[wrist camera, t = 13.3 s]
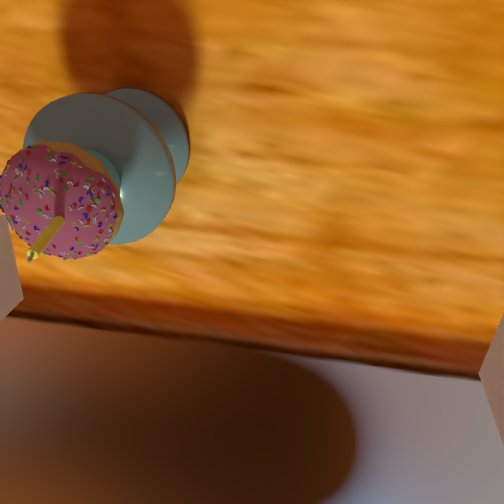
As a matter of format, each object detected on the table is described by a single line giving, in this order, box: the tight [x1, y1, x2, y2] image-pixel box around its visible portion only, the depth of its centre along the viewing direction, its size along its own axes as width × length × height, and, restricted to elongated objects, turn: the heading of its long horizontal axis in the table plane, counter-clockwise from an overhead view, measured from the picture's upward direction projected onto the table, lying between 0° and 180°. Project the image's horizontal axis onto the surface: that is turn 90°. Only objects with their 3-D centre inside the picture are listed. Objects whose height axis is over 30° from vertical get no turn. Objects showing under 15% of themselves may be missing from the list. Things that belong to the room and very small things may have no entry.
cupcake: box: [0, 141, 124, 263], centre depth 31 cm, size 9×8×12 cm
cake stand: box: [23, 87, 190, 244], centre depth 40 cm, size 12×12×8 cm
